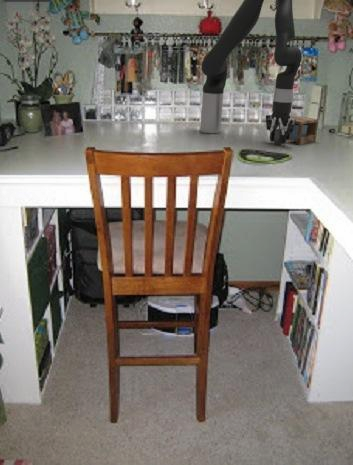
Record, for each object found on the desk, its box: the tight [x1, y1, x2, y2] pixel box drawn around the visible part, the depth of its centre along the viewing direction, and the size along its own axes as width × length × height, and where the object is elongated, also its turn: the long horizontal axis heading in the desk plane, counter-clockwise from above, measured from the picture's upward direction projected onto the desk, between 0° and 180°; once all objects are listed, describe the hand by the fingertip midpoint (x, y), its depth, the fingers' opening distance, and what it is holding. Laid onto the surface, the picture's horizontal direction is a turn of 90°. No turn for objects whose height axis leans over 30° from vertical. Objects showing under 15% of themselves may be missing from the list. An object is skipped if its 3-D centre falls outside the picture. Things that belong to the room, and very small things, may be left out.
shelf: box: [278, 115, 319, 146], centre depth 201 cm, size 12×11×10 cm
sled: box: [273, 123, 308, 146], centre depth 198 cm, size 18×5×7 cm, turn 130°
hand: (277, 142), depth 195 cm, fingers open, 5 cm apart
